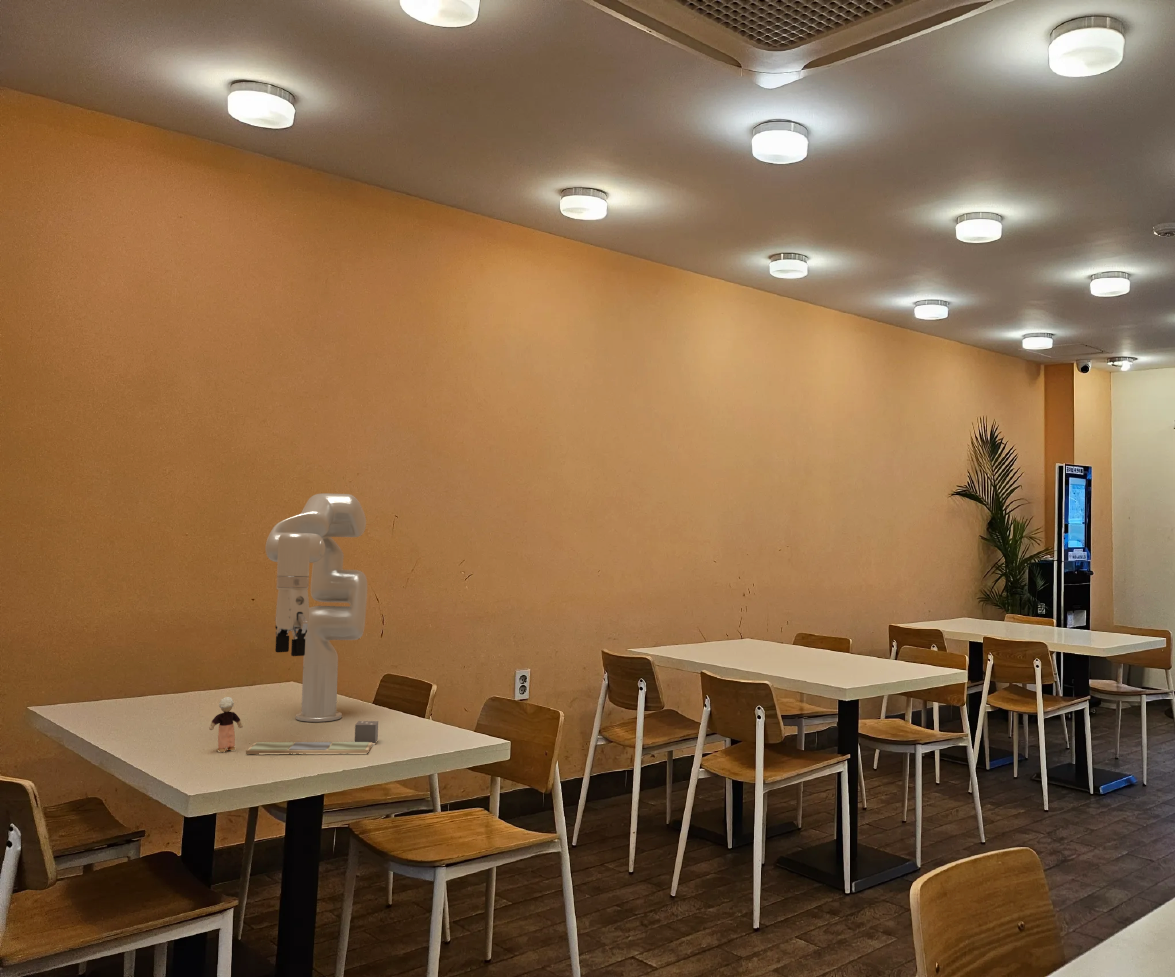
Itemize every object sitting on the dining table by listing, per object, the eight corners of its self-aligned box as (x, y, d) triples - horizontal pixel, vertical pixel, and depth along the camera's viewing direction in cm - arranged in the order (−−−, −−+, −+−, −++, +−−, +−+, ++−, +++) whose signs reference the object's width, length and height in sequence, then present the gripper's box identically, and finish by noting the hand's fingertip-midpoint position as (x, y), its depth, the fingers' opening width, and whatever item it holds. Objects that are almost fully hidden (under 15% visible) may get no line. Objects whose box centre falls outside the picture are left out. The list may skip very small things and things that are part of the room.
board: (254, 746, 232) (255, 741, 232) (372, 746, 235) (372, 741, 235) (245, 755, 223) (246, 749, 223) (367, 754, 226) (367, 749, 226)
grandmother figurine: (234, 747, 231) (236, 694, 232) (243, 749, 229) (245, 696, 230) (204, 752, 225) (207, 697, 226) (213, 754, 223) (215, 699, 224)
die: (357, 741, 242) (358, 720, 242) (377, 741, 242) (378, 720, 243) (354, 745, 237) (355, 724, 237) (374, 745, 237) (375, 724, 238)
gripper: (322, 584, 230) (319, 656, 229) (293, 582, 244) (290, 649, 242) (291, 585, 226) (289, 658, 224) (264, 582, 239) (261, 651, 238)
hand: (289, 653), depth 233 cm, fingers open, 9 cm apart
